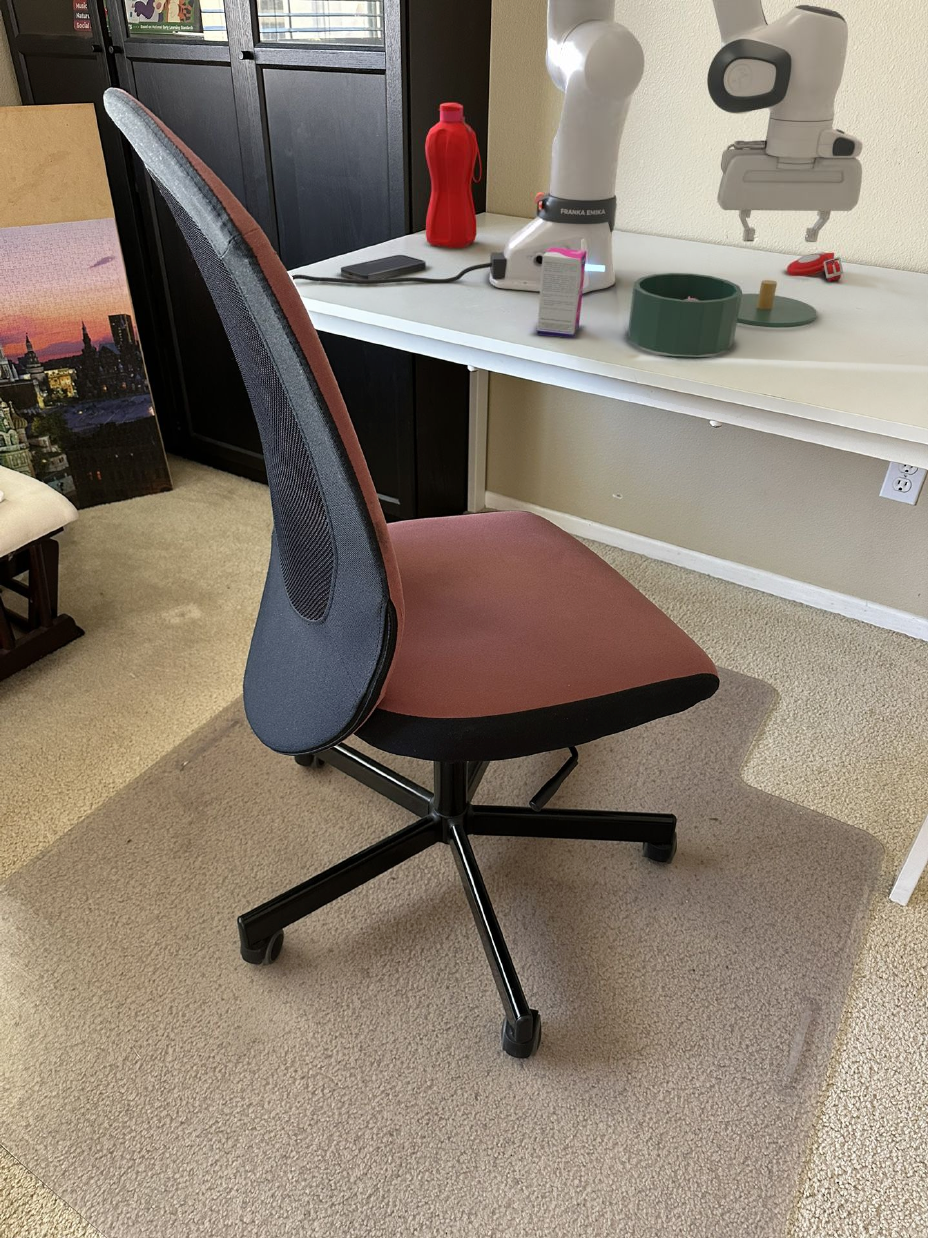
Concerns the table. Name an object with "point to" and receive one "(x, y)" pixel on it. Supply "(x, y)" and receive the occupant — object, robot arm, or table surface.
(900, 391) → the table surface
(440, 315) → the table surface
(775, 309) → the tin lid
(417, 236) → the table surface
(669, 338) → the tin
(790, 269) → the tracker holder
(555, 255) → the supplement box
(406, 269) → the phone
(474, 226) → the water bottle
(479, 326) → the table surface
